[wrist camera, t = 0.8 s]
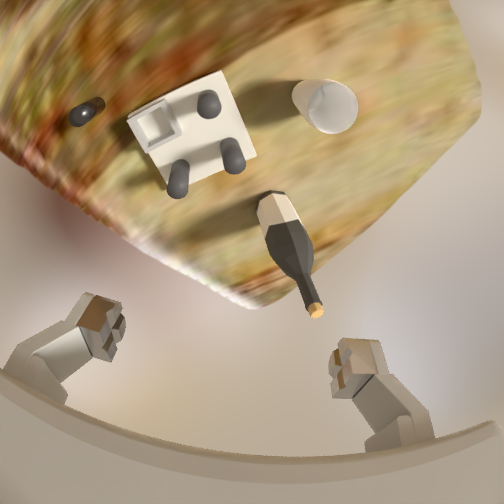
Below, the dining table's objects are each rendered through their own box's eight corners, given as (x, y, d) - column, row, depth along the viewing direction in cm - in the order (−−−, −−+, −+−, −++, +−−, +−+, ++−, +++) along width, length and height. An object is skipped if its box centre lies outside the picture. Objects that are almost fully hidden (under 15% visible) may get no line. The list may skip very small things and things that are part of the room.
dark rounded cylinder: (91, 95, 38) (71, 105, 31) (107, 98, 39) (89, 108, 32) (86, 112, 40) (67, 125, 33) (102, 115, 41) (85, 128, 34)
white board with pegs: (130, 113, 42) (112, 129, 34) (220, 69, 40) (225, 73, 32) (173, 186, 54) (168, 217, 45) (254, 151, 52) (267, 175, 43)
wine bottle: (258, 223, 64) (291, 335, 41) (252, 193, 58) (288, 305, 36) (291, 215, 64) (340, 321, 42) (288, 185, 58) (345, 290, 36)
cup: (288, 120, 49) (309, 138, 40) (282, 76, 42) (304, 83, 34) (331, 114, 49) (360, 132, 40) (327, 72, 43) (358, 80, 34)
